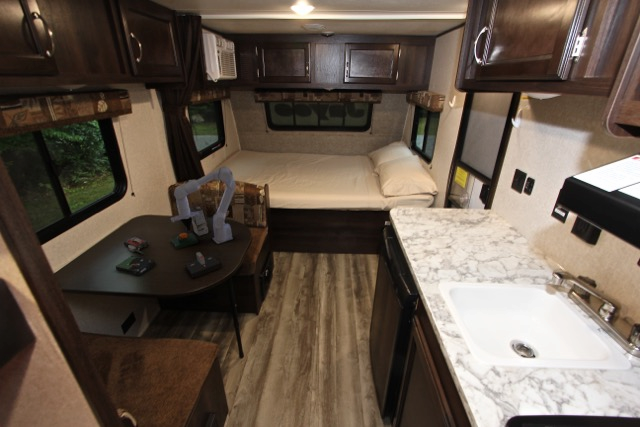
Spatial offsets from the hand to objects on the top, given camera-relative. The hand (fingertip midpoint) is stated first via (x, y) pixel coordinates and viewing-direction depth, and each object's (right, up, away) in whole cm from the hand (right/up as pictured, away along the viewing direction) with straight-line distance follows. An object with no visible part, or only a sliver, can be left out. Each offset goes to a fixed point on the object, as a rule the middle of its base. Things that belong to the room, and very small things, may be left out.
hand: (188, 229), depth 165 cm
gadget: (+15, -18, -17) cm, 29 cm away
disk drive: (-18, -19, -18) cm, 31 cm away
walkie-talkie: (-27, -11, -1) cm, 29 cm away
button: (-4, -4, +4) cm, 7 cm away
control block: (-4, -8, +5) cm, 10 cm away
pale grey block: (+14, -15, -17) cm, 27 cm away
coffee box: (0, -2, +17) cm, 17 cm away
